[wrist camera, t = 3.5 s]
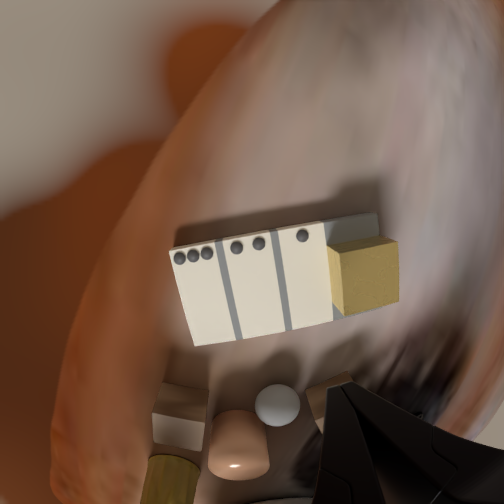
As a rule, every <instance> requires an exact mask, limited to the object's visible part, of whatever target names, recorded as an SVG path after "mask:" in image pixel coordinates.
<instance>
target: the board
mask: <svg viewBox="0 0 504 504" xmlns="http://www.w3.org/2000/svg"><path fill="white" fill-rule="evenodd" d="M378 235H379V224H378V214H376V213H371V212H369V213H363V214H356V215H350V216H344V217H338V218H332V219H326V220H320V221H314V222H309V223H303V224H297V225H291V226H286V227H280V228H274V229H269V230H263V231H258V232H252V233H247V234H241V235H236V236H230V237H225V238H220V239H215V240H209V241H204V242H199V243H194V244H189V245H183V246H178V247H173V248H172V249H171V250H170V251H169V253H170V258H171V262H172V266H173V270H174V274H175V278H176V282H177V286H178V290H179V293H180V297H181V301H182V304H183V308H184V312H185V315H186V319H187V322H188V325H189V329H190V332H191V336H192V339H193V342H194V345H195V346H199V345H207V344H214V343H221V342H227V341H234V340H240V339H246V338H252V337H257V336H263V335H268V334H274V333H279V332H284V331H289V330H294V329H298V328H303V327H308V326H312V325H317V324H321V323H325V322H329V321H334V320H338V319H342V318H346V317H350V316H354V315H357V314H361V313H365V312H369V311H372V310H376V309H379V308H382V307H378V308H375V309H371V310H367V311H364V312H360V313H356V314H352V315H348V316H343V315H342V313H341V312H340V311H339V310H338V308H337V307H336V306H335V305H334V304H333V302H332V296H331V285H330V275H329V265H328V256H327V247H326V245H332V244H337V243H342V242H347V241H353V240H358V239H363V238H368V237H373V236H378Z"/></svg>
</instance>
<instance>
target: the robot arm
mask: <svg viewBox="0 0 504 504" xmlns="http://www.w3.org/2000/svg"><path fill="white" fill-rule="evenodd" d="M422 419H423V413H422V412H419V413H417V414H415V415H413V414H411V413H409V412H407V411H405V410H403V409H401V408H399V407H398V406H396V405H394V404H392V403H390V402H388V401H387V400H385V399H383V398H381V397H379V396H378V395H376V394H374V393H372V392H371V391H369V390H367V389H365V388H364V387H362V386H360V385H358V384H357V383H355V382H353V381H349V382H345V383H342V384H340V385H335V386H331V387H327V388H326V398H325V412H324V424H323V434H322V444H321V453H320V461H319V470H318V475H317V482H316V487H315V492H314V496H313V499H312V502H311V504H504V450H501V449H497V448H493V447H490V446H486V445H483V444H479V443H476V442H473V441H470V440H467V439H464V438H461V437H458V436H456V435H453V434H451V433H449V432H447V431H444V430H442V429H440V428H438V427H436V426H433V425H432V424H430V423H428V422H426V421H424V420H422Z"/></svg>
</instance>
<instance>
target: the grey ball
mask: <svg viewBox="0 0 504 504" xmlns="http://www.w3.org/2000/svg"><path fill="white" fill-rule="evenodd" d="M299 410H300V400H299V397H298V395H297V393H296V392H295V391H294V390H293V389H292V388H290V387H288V386H286V385H281V384H275V385H270V386H268V387H266V388H264V389H263V390H262V391H261V392H260V393H259V394H258V396H257V398H256V401H255V411H256V414H257V416H258V417H259V419H260V420H261V421H263V422H264V423H266V424H268V425H271V426H283V425H286V424H288V423H290V422H291V421H293V420H294V419H295V418H296V416H297V415H298V413H299Z"/></svg>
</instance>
